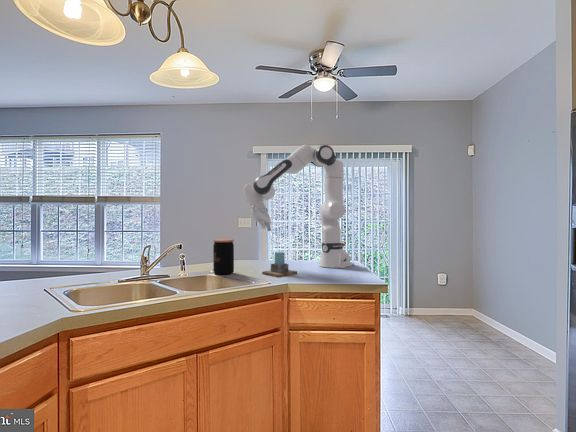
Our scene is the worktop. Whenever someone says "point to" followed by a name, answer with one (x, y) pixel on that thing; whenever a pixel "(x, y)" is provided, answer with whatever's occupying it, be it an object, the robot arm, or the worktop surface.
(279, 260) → the post
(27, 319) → the worktop surface
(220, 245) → the coffee jar
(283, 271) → the wooden block on base
